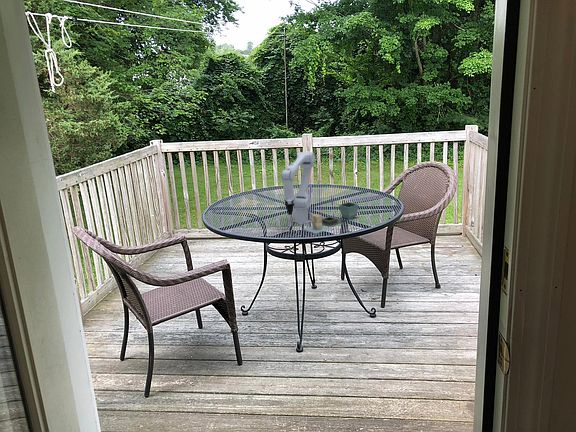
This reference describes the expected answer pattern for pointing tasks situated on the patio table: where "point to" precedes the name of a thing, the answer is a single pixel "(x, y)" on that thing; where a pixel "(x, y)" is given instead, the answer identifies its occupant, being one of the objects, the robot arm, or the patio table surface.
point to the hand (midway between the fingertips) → (289, 212)
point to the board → (311, 230)
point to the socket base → (331, 221)
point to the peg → (317, 221)
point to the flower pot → (348, 210)
